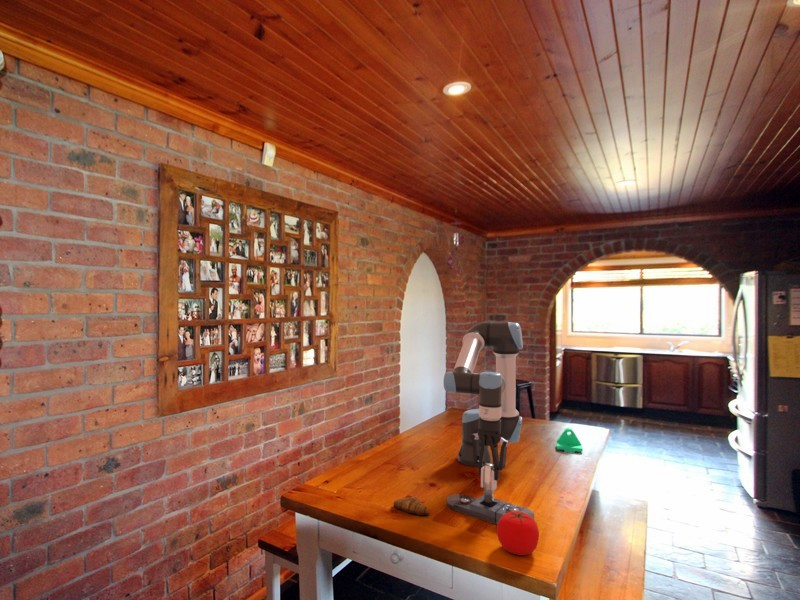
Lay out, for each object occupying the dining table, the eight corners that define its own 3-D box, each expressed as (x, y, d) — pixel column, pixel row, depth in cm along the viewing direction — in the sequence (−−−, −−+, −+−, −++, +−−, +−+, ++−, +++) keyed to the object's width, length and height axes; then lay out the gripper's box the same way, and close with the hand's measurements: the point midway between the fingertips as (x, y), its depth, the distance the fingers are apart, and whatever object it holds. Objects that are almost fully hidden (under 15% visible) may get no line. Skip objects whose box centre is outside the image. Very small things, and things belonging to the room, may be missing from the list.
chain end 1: (442, 506, 151) (442, 498, 151) (455, 497, 158) (455, 490, 158) (495, 524, 139) (495, 516, 139) (506, 514, 146) (506, 506, 146)
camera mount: (556, 451, 214) (557, 430, 214) (556, 446, 221) (556, 426, 222) (582, 454, 210) (582, 433, 211) (581, 449, 218) (581, 429, 218)
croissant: (433, 512, 147) (433, 497, 147) (424, 520, 141) (424, 505, 141) (398, 502, 153) (399, 488, 153) (389, 510, 147) (389, 495, 148)
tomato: (521, 566, 116) (521, 527, 116) (488, 546, 126) (489, 510, 126) (547, 552, 123) (548, 516, 123) (515, 535, 133) (515, 500, 133)
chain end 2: (470, 515, 144) (470, 502, 144) (482, 506, 151) (482, 493, 152) (528, 535, 132) (528, 520, 132) (538, 524, 139) (538, 510, 140)
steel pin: (482, 500, 145) (482, 464, 145) (486, 497, 147) (487, 462, 148) (490, 503, 143) (491, 467, 143) (494, 500, 145) (495, 464, 146)
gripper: (463, 416, 148) (462, 484, 147) (508, 424, 138) (506, 498, 137) (473, 412, 154) (472, 478, 153) (517, 420, 144) (515, 490, 143)
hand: (488, 487), depth 145 cm, fingers closed on steel pin, 3 cm apart
